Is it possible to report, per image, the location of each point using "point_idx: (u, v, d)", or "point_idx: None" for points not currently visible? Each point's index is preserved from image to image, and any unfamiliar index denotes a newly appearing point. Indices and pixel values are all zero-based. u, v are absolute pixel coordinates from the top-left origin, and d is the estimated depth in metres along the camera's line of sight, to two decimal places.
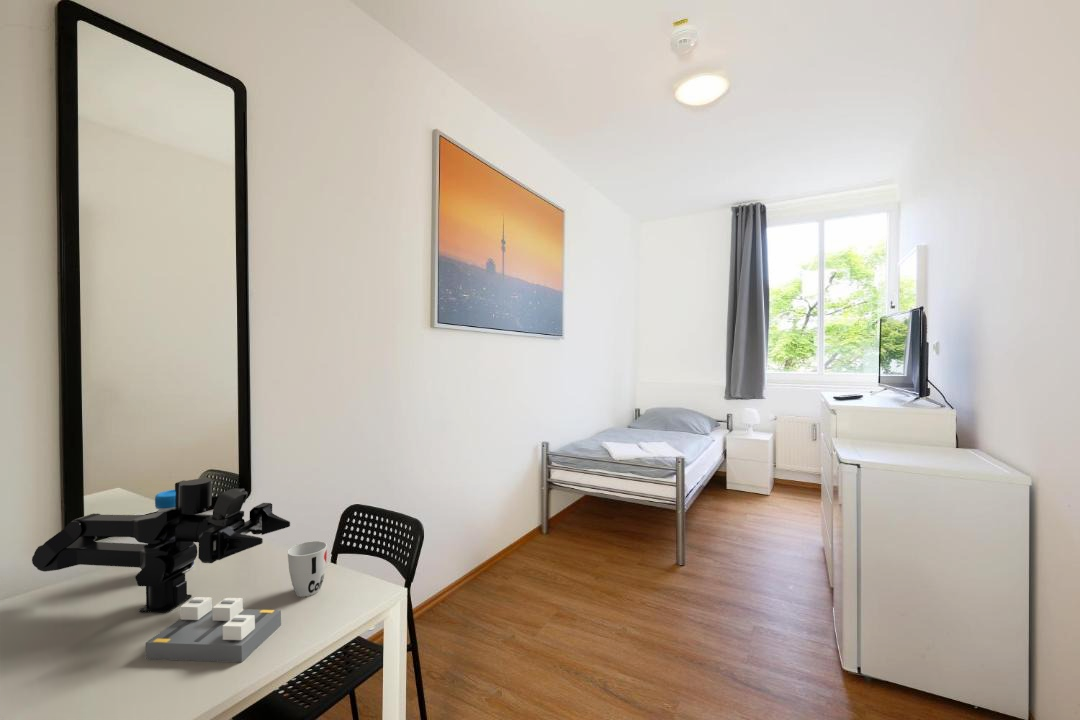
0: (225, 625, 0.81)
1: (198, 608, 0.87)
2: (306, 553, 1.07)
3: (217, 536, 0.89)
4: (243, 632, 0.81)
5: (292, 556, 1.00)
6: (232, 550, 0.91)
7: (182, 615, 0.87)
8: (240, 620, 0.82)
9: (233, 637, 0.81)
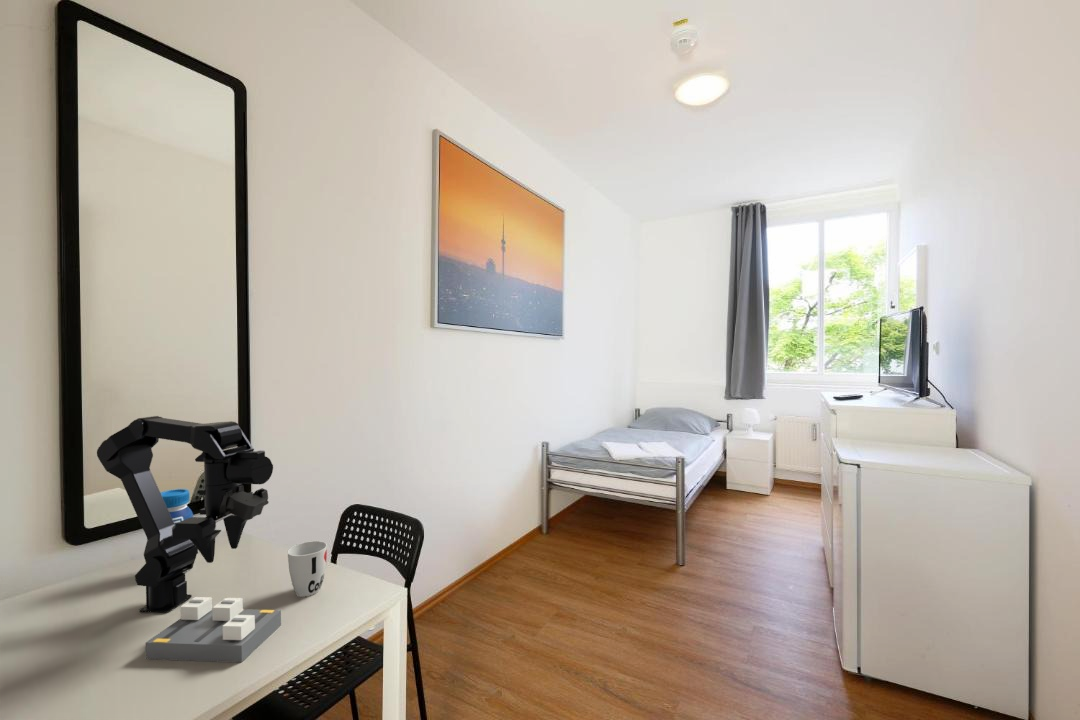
0: (225, 625, 0.81)
1: (198, 608, 0.87)
2: (306, 553, 1.07)
3: (205, 536, 0.89)
4: (243, 632, 0.81)
5: (292, 556, 1.00)
6: (196, 541, 0.91)
7: (182, 615, 0.87)
8: (240, 620, 0.82)
9: (233, 637, 0.81)
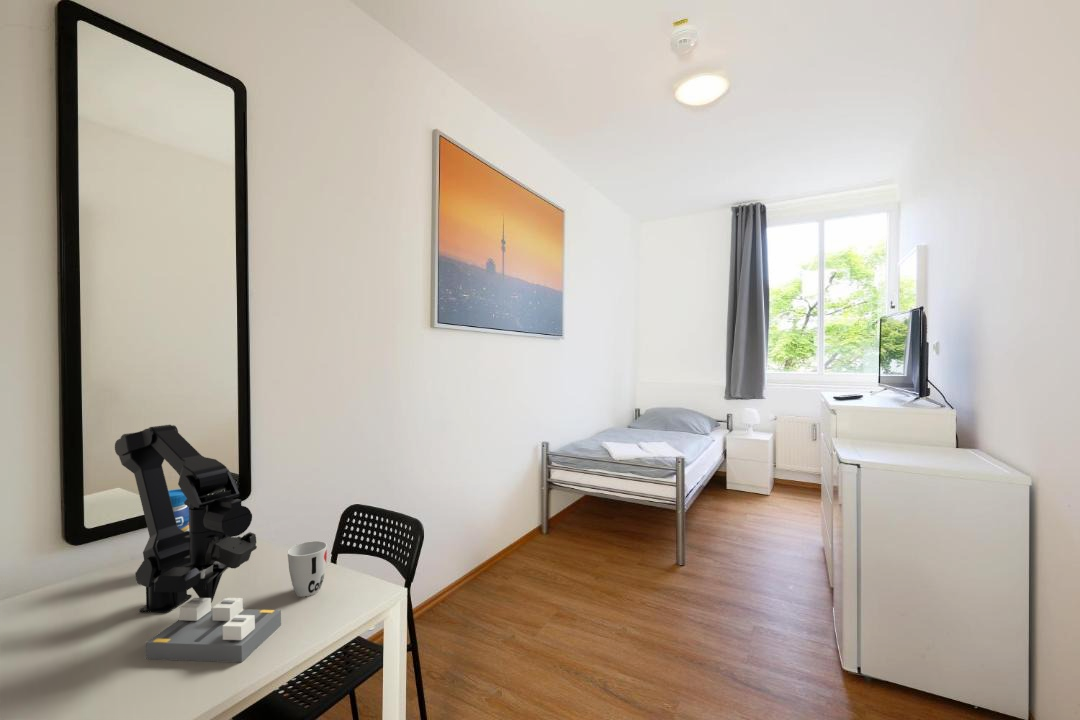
0: (225, 625, 0.81)
1: (197, 609, 0.87)
2: (306, 553, 1.07)
3: (202, 579, 0.88)
4: (243, 632, 0.81)
5: (292, 556, 1.00)
6: None
7: (181, 615, 0.87)
8: (240, 620, 0.82)
9: (233, 637, 0.81)
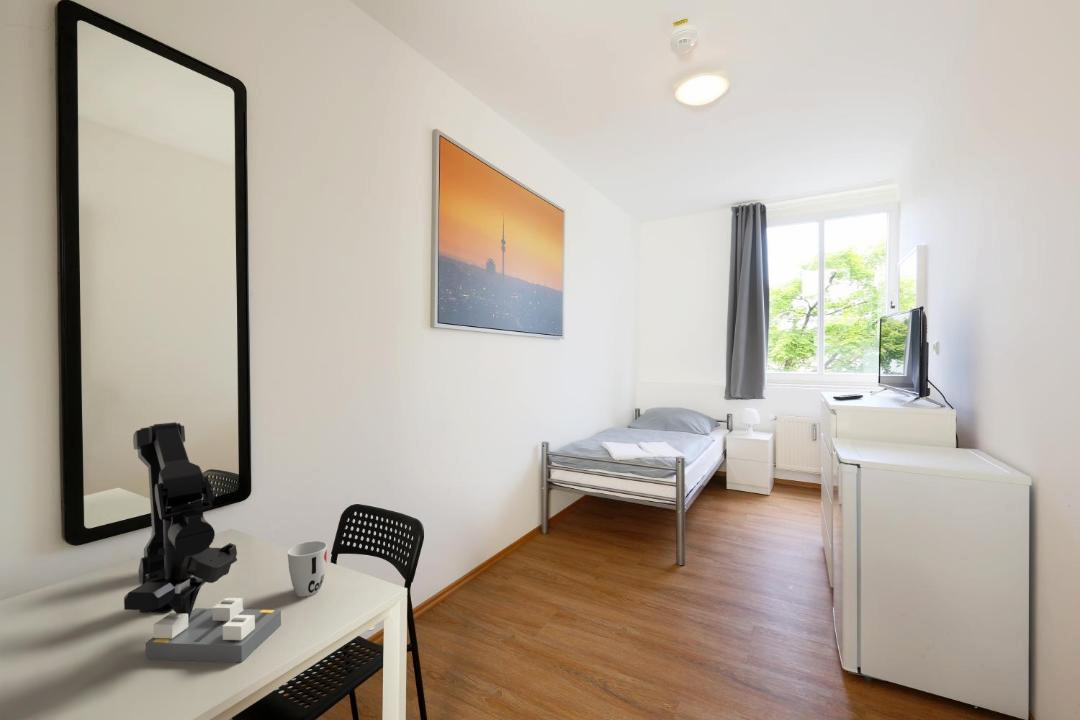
0: (225, 625, 0.81)
1: (172, 626, 0.82)
2: (306, 553, 1.07)
3: (178, 595, 0.82)
4: (243, 632, 0.81)
5: (292, 556, 1.00)
6: None
7: (156, 633, 0.82)
8: (240, 620, 0.82)
9: (233, 637, 0.81)
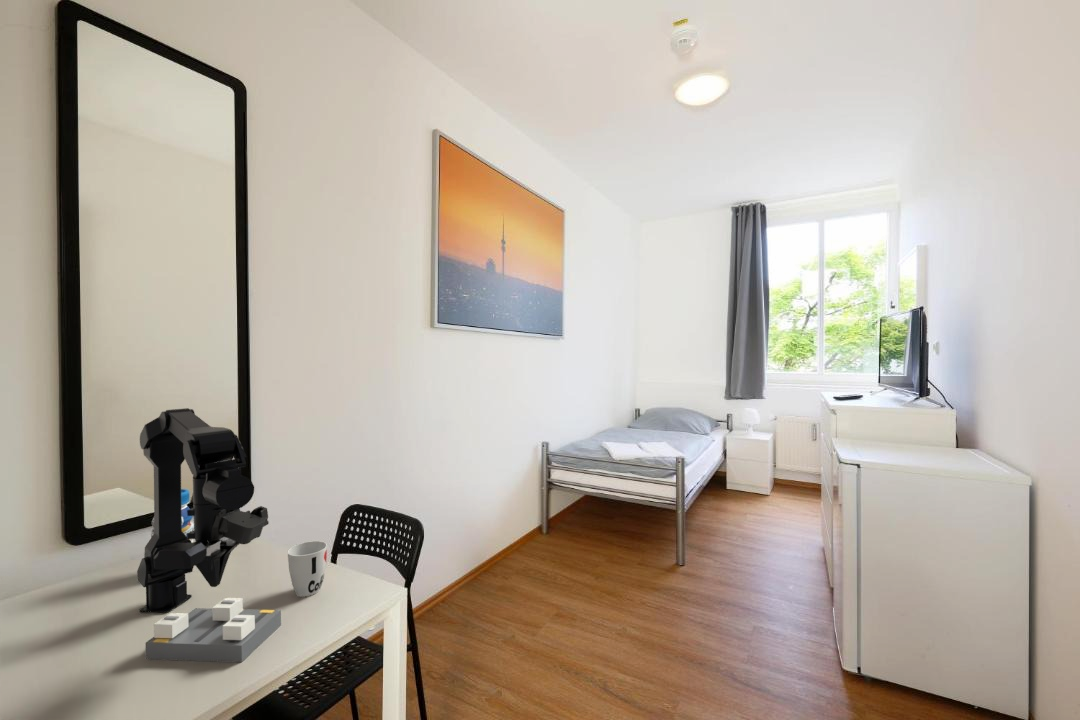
0: (225, 625, 0.81)
1: (173, 626, 0.82)
2: (306, 553, 1.07)
3: (208, 557, 0.78)
4: (243, 632, 0.81)
5: (292, 556, 1.00)
6: (198, 562, 0.80)
7: (156, 633, 0.82)
8: (240, 620, 0.82)
9: (233, 637, 0.81)
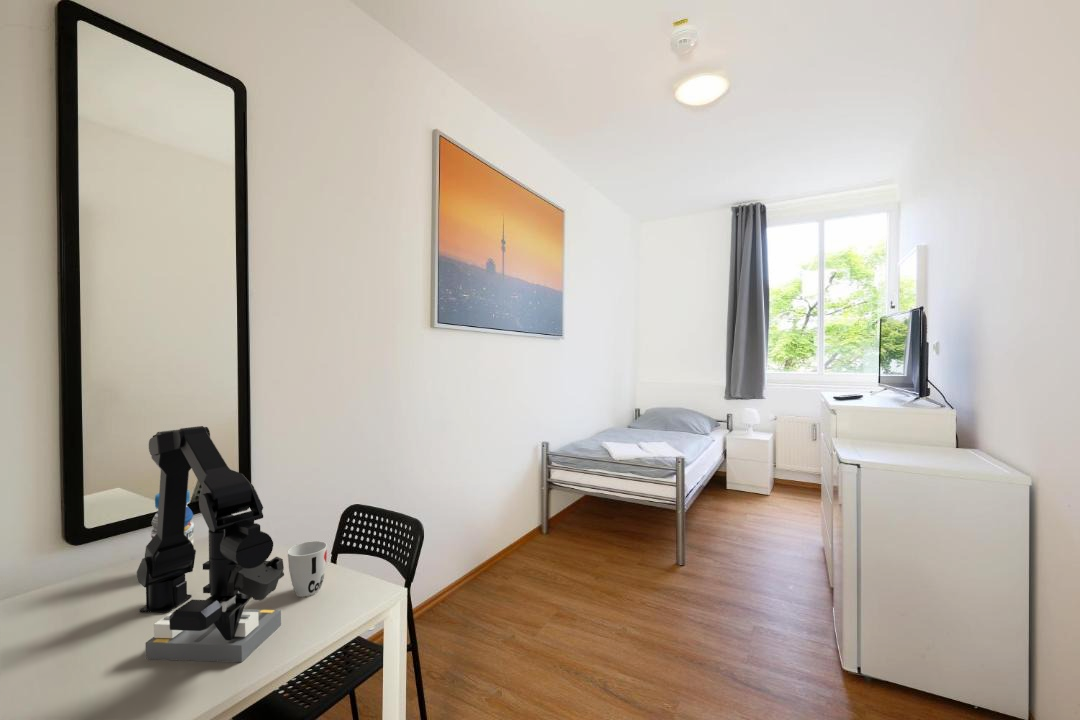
0: None
1: None
2: (306, 553, 1.07)
3: (224, 613, 0.77)
4: (247, 629, 0.82)
5: (292, 556, 1.00)
6: None
7: (156, 633, 0.82)
8: (244, 617, 0.83)
9: (237, 633, 0.82)
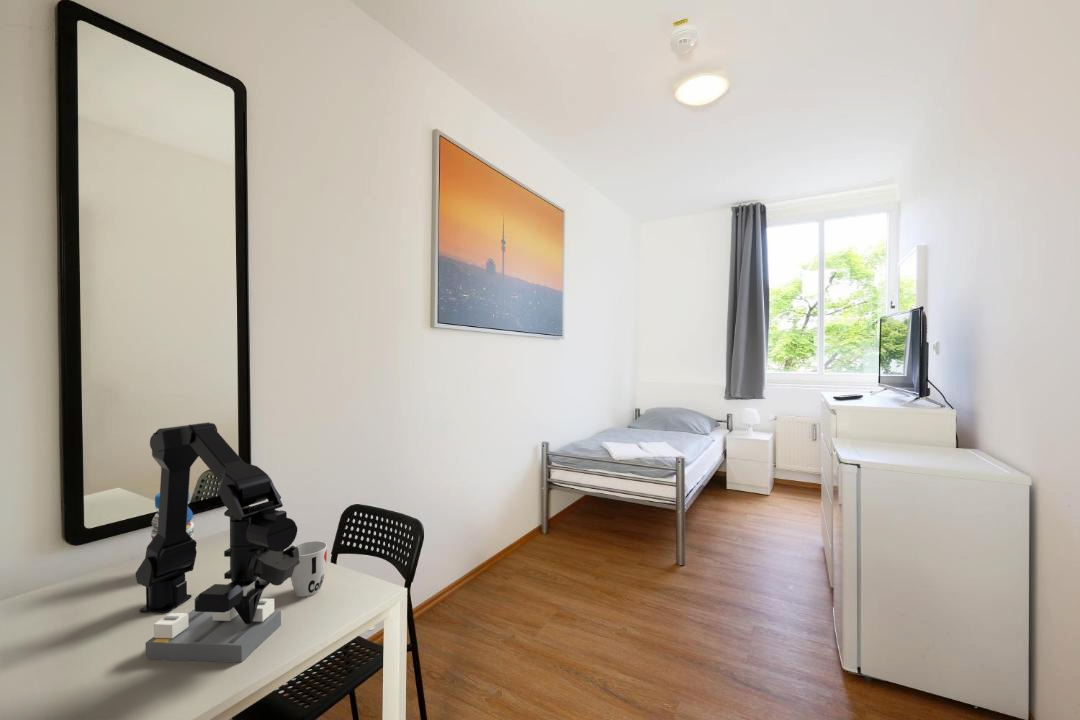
0: None
1: (173, 626, 0.82)
2: (306, 553, 1.07)
3: (244, 597, 0.81)
4: (264, 614, 0.87)
5: None
6: None
7: (156, 633, 0.82)
8: (261, 603, 0.88)
9: (255, 618, 0.86)
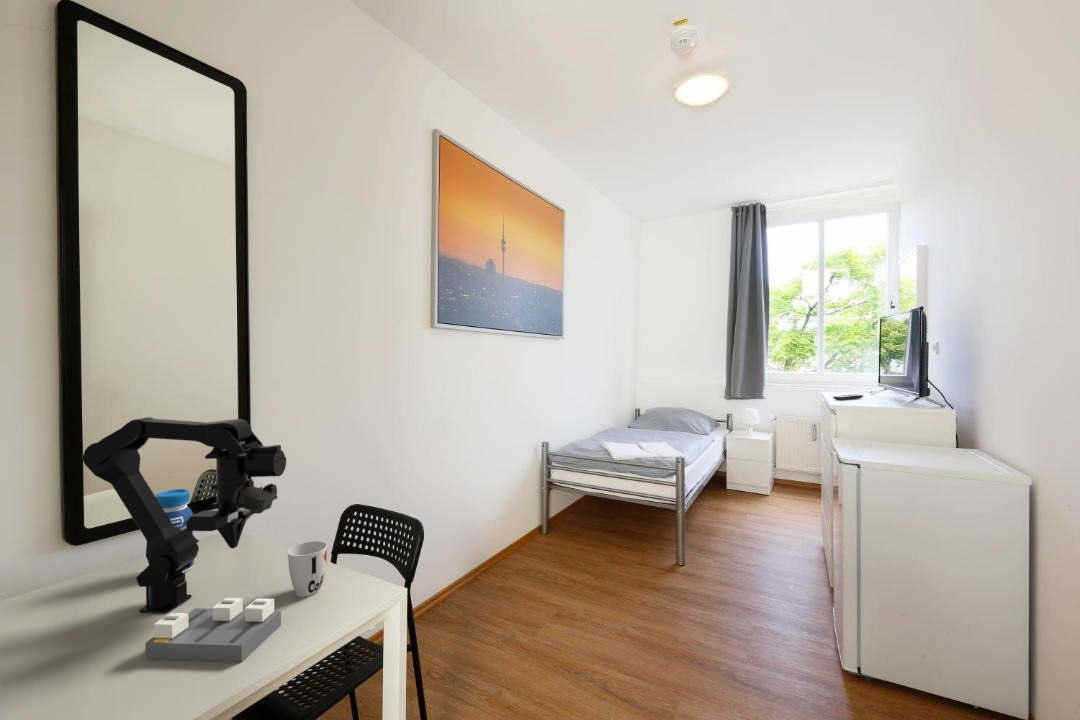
0: (247, 608, 0.87)
1: (173, 626, 0.82)
2: (306, 553, 1.07)
3: (229, 523, 0.96)
4: (264, 614, 0.87)
5: (292, 556, 1.00)
6: (220, 528, 0.98)
7: (156, 633, 0.82)
8: (261, 603, 0.88)
9: (255, 619, 0.86)
